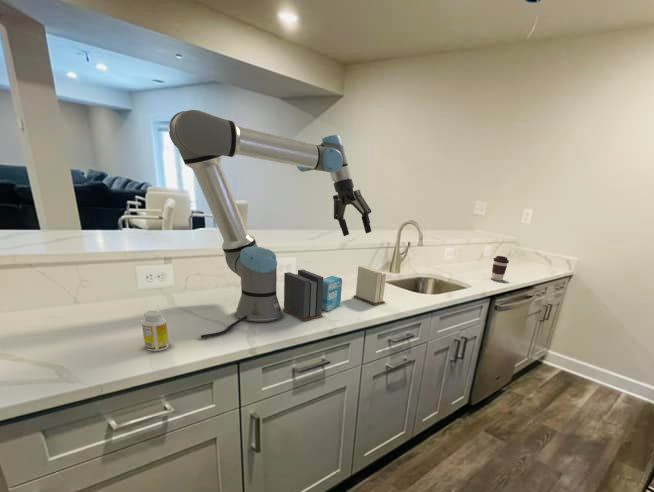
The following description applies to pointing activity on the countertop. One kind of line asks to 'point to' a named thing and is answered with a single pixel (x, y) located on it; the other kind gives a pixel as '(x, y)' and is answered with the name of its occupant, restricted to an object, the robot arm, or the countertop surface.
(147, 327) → the supplement bottle
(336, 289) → the blue box
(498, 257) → the coffee cup
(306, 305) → the grey books
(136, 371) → the countertop surface
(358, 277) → the cream books
